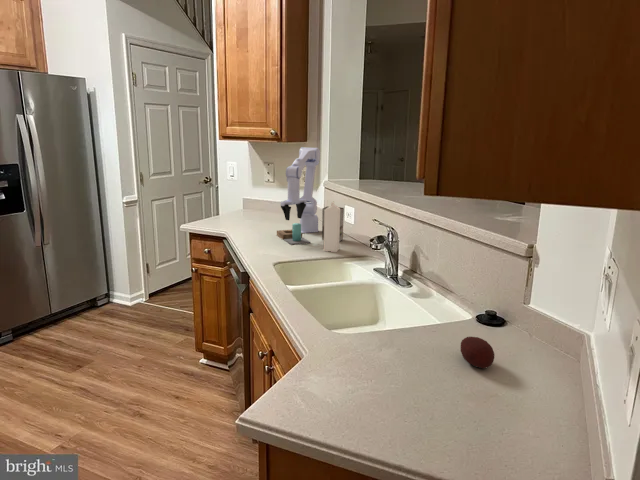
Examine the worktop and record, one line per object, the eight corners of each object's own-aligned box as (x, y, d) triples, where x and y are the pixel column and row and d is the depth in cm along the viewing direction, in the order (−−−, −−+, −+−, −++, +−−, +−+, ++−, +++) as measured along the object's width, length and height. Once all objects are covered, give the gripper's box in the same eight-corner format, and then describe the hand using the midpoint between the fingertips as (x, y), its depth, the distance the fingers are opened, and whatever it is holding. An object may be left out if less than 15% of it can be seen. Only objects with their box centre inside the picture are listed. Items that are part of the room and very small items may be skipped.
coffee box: (343, 239, 230) (344, 207, 226) (338, 242, 225) (339, 209, 221) (326, 237, 234) (327, 205, 230) (321, 240, 228) (322, 207, 224)
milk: (323, 251, 208) (324, 202, 202) (326, 248, 213) (327, 200, 208) (336, 252, 206) (337, 203, 201) (339, 249, 212) (340, 201, 207)
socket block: (295, 234, 240) (295, 229, 240) (302, 238, 231) (302, 233, 231) (276, 235, 236) (276, 230, 236) (283, 239, 227) (283, 234, 227)
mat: (302, 238, 230) (302, 237, 230) (310, 243, 221) (310, 242, 221) (283, 240, 226) (283, 238, 226) (290, 244, 218) (290, 243, 217)
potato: (471, 375, 104) (474, 350, 103) (451, 354, 114) (453, 331, 113) (501, 372, 106) (504, 348, 104) (479, 352, 115) (481, 329, 114)
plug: (297, 238, 227) (297, 222, 225) (302, 240, 224) (302, 224, 222) (290, 240, 224) (290, 224, 222) (296, 241, 221) (296, 225, 219)
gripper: (299, 189, 230) (299, 216, 233) (276, 191, 220) (276, 219, 223) (309, 190, 225) (308, 218, 228) (285, 193, 215) (285, 221, 219)
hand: (293, 219), depth 225 cm, fingers open, 7 cm apart
